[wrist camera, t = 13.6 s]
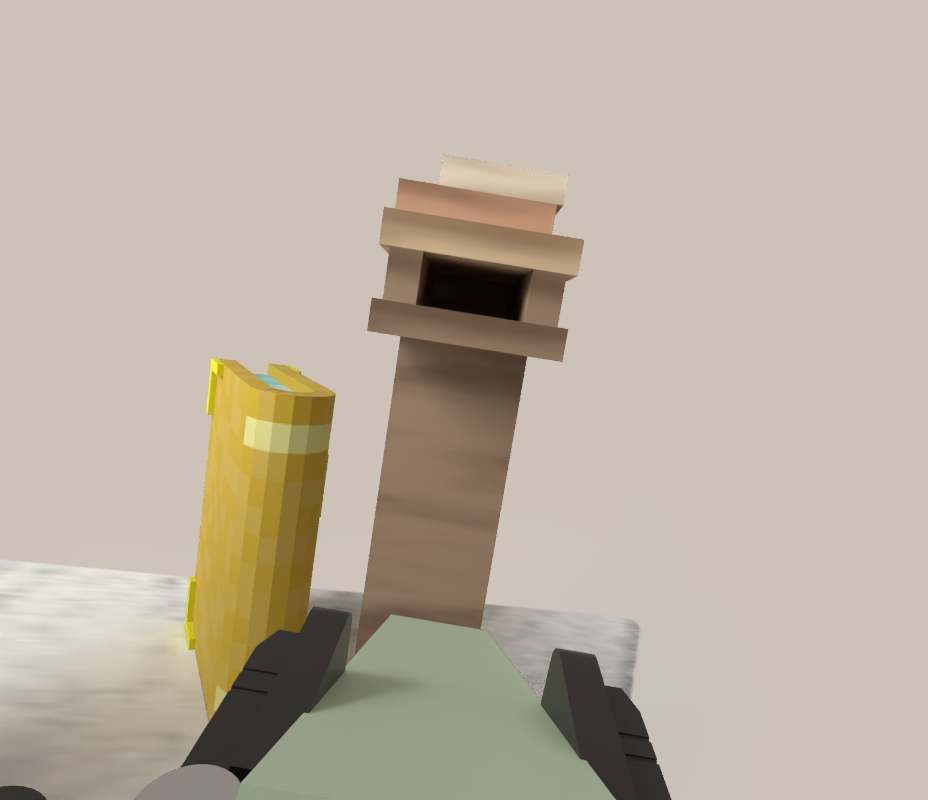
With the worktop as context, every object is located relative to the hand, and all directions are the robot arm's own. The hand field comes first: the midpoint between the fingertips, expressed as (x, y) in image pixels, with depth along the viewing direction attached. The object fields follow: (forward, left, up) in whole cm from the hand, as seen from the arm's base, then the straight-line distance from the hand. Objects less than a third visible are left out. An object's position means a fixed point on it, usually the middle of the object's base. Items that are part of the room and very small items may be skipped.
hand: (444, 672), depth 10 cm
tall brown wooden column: (+15, +15, -24) cm, 32 cm away
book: (+13, +33, -24) cm, 43 cm away
